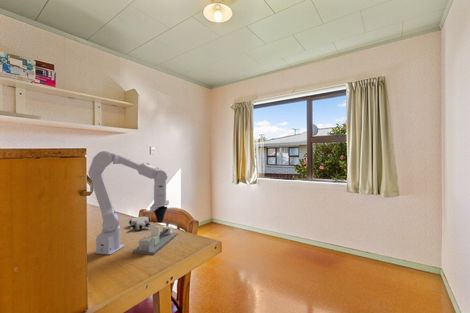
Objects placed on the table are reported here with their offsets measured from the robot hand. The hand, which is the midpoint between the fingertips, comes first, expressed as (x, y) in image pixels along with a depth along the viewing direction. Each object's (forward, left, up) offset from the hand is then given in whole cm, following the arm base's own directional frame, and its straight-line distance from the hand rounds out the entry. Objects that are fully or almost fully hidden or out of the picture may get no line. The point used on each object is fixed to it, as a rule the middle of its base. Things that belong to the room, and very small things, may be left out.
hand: (160, 222), depth 110 cm
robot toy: (+17, +22, -10) cm, 30 cm away
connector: (-11, 0, -8) cm, 14 cm away
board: (-2, 0, -9) cm, 10 cm away
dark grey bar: (-2, 0, -7) cm, 7 cm away
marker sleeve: (-6, 0, -8) cm, 10 cm away
